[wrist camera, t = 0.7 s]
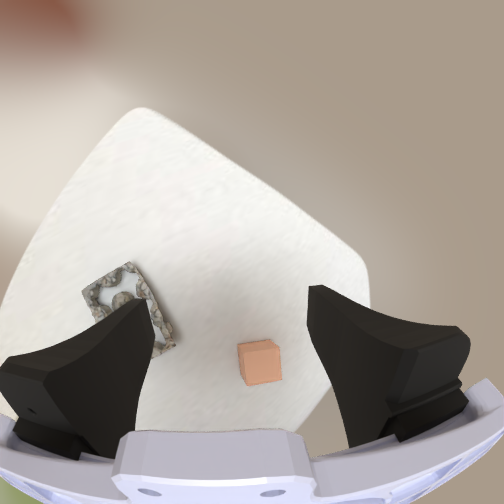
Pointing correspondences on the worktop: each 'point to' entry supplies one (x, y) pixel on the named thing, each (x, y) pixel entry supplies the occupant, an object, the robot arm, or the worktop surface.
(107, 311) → the egg carton
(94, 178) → the worktop surface
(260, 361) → the terracotta cube
